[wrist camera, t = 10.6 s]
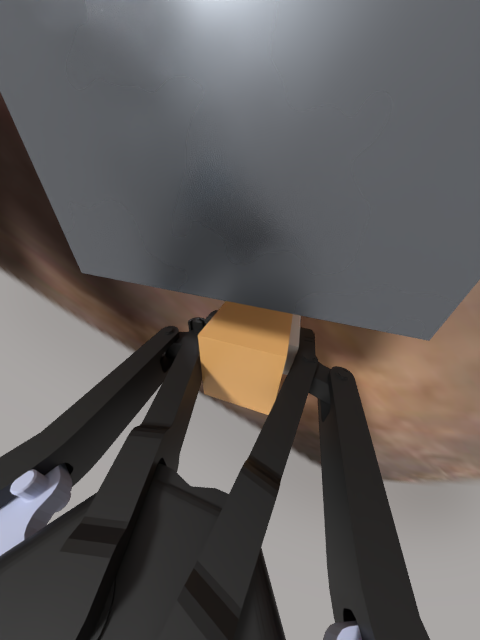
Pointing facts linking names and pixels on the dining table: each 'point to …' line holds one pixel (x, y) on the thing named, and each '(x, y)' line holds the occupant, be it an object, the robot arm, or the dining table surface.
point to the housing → (260, 148)
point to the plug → (244, 355)
